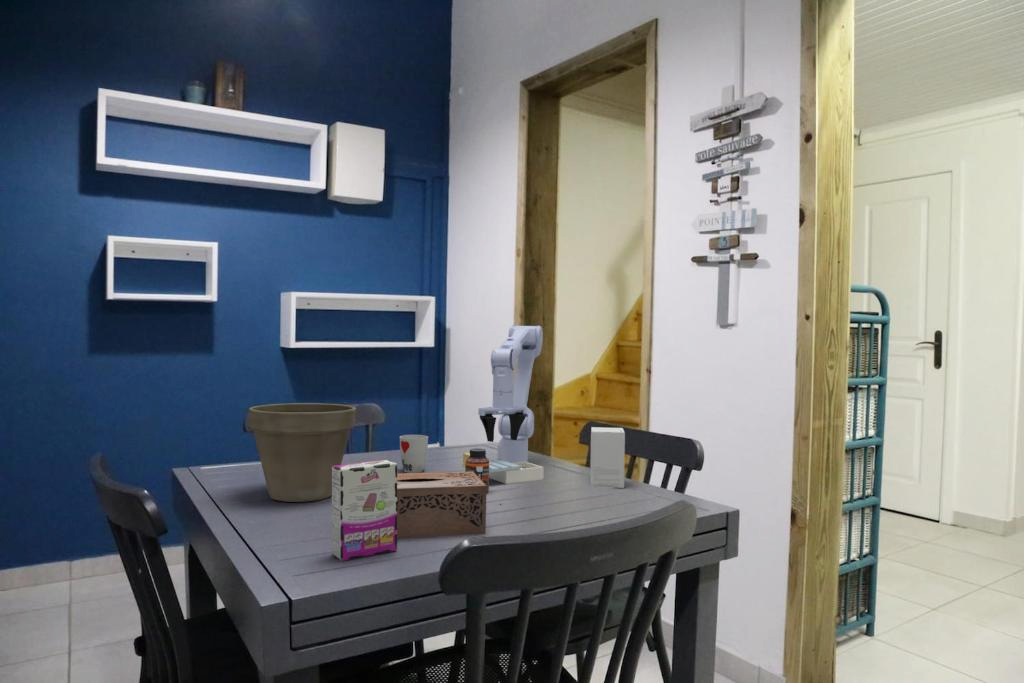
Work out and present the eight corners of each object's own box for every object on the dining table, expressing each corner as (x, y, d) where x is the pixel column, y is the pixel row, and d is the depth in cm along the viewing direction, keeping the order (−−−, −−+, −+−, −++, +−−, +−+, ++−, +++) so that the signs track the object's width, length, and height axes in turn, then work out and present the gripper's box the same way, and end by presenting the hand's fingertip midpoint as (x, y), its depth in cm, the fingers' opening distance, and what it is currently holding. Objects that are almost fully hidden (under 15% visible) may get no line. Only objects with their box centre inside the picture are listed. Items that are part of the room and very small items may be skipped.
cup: (395, 469, 207) (396, 435, 207) (422, 467, 211) (423, 434, 211) (403, 475, 200) (404, 439, 200) (431, 473, 204) (432, 438, 203)
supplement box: (622, 481, 198) (624, 427, 197) (624, 488, 189) (625, 431, 189) (589, 480, 199) (590, 426, 198) (590, 487, 190) (591, 430, 189)
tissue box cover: (355, 541, 139) (356, 490, 139) (353, 521, 153) (354, 474, 153) (485, 534, 145) (486, 485, 145) (472, 516, 159) (473, 471, 159)
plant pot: (305, 480, 191) (306, 399, 191) (375, 492, 179) (376, 405, 178) (224, 498, 170) (226, 407, 170) (298, 514, 157) (299, 415, 157)
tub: (488, 479, 196) (488, 465, 196) (525, 475, 203) (525, 461, 203) (506, 486, 189) (506, 471, 189) (543, 481, 195) (543, 467, 195)
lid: (456, 467, 191) (457, 451, 191) (501, 462, 199) (502, 447, 199) (474, 473, 183) (475, 457, 183) (520, 469, 191) (521, 452, 191)
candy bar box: (385, 544, 137) (387, 458, 136) (397, 551, 133) (399, 463, 132) (329, 554, 130) (330, 464, 130) (340, 562, 126) (341, 469, 126)
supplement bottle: (485, 498, 175) (486, 451, 175) (462, 496, 176) (462, 450, 176) (491, 492, 181) (492, 448, 181) (468, 491, 182) (469, 446, 182)
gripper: (488, 393, 191) (487, 444, 191) (533, 392, 199) (531, 440, 199) (475, 391, 197) (473, 440, 197) (519, 390, 205) (518, 437, 205)
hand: (502, 440), depth 199 cm, fingers open, 7 cm apart
